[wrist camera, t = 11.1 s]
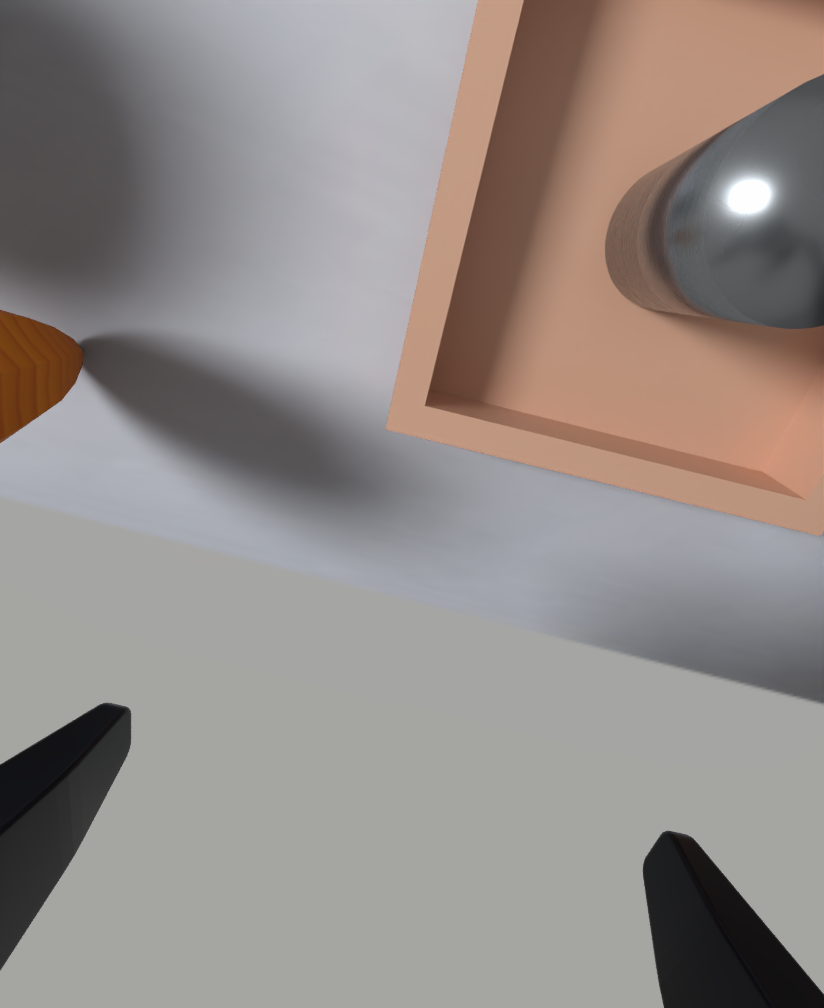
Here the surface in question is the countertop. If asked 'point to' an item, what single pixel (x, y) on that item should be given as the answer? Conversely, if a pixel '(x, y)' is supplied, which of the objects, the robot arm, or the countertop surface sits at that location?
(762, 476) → the terracotta tray
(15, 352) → the carrot
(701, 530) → the countertop surface
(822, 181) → the gunmetal pin
